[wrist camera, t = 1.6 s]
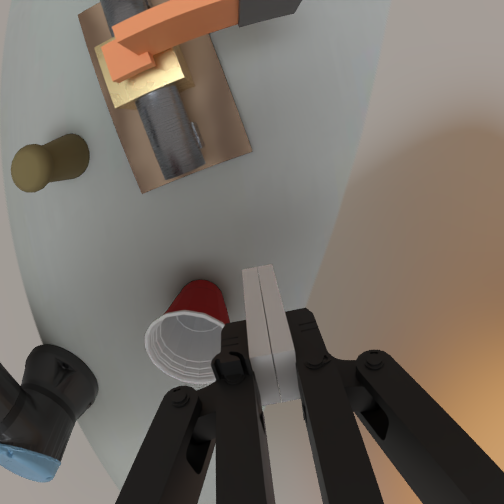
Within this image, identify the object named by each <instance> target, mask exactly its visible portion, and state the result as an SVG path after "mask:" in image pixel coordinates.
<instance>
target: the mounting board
mask: <svg viewBox="0 0 504 504" xmlns="http://www.w3.org/2000/svg"><path fill="white" fill-rule="evenodd" d="M167 1H170V0H151V3H152V5H153V7H155V6H157V5H160V4H162V3H165V2H167ZM78 18H79V21H80V24H81V28H82V31H83V34H84V38H85V41H86V44H87V47H88V51H89V54H90V57H91V60H92V63H93V66H94V69H95V72H96V75H97V78H98V81H99V84H100V87H101V90H102V93H103V95H104V98H105V101H106V104H107V107H108V109H109V112H110V115H111V117H112V120H113V123H114V125H115V128H116V131H117V133H118V136H119V139H120V141H121V144H122V146H123V149H124V151H125V154H126V156H127V159H128V161H129V164H130V166H131V169H132V171H133V174H134V176H135V178H136V181H137V183H138V186H139V188H140V190H141V193H142V194H143V193H145V192H148V191H150V190H153V189H155V188H157V187H160V186H162V185H165V184H167V183H170V182H172V181H174V180H177V179H179V178H182V177H185V176H187V175H190V174H192V173H195V172H197V171H200V170H203V169H205V168H208V167H211V166H213V165H216V164H219V163H221V162H224V161H227V160H230V159H233V158H235V157H238V156H241V155H244V154H247V153H250V152H252V149H251V146H250V143H249V140H248V138H247V135H246V132H245V129H244V127H243V124H242V121H241V118H240V116H239V113H238V110H237V107H236V105H235V102H234V99H233V97H232V94H231V91H230V89H229V86H228V83H227V81H226V78H225V75H224V73H223V70H222V67H221V65H220V62H219V60H218V57H217V54H216V52H215V49H214V47H213V44H212V42H211V39H210V36H209V34H206V35H203V36H200V37H197V38H195V39H192V40H189V41H187V42H184V43H181V44H179V45H180V48H181V50H182V53H183V55H184V58H185V61H186V63H187V66H188V69H189V71H190V74H191V77H192V79H193V82H194V85H195V87H192V88H190V89H187V90H185V91H182V92H180V93H179V94H180V97H181V99H182V102H183V105H184V107H185V110H186V113H187V115H188V118H189V121H190V123H191V122H196V123H197V125H198V128H199V131H200V133H201V136H202V138H203V141H204V144H205V146H204V147H203V148H201V152H202V155H203V157H204V160H205V162H206V163H205V164H204V165H202V166H200V167H198V168H196V169H194V170H192V171H190V172H187V173H185V174H182V175H180V176H177V177H174V178H172V179H168V180H165V179H164V176H163V174H162V172H161V169H160V167H159V164H158V162H157V159H156V157H155V154H154V152H153V149H152V146H151V144H150V141H149V139H148V136H147V134H146V131H145V128H144V126H143V123H142V121H141V118H140V115H139V113H138V110H130V109H115V107H114V104H113V101H112V99H111V96H110V93H109V90H108V87H107V85H106V82H105V79H104V76H103V73H102V70H101V67H100V64H99V61H98V58H97V55H96V52H95V49H94V47H96V46H98V45H100V44H102V43H103V42H105V41H107V40H109V39H111V38H112V37H111V34H110V31H109V28H108V25H107V21H106V18H105V15H104V12H103V9H102V6H101V3H98V4H96V5H94V6H92V7H91V8H89V9H87V10H85V11H84V12H82V13H80V14H78Z"/></svg>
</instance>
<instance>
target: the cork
mask: <svg viewBox="0 0 504 504" xmlns="http://www.w3.org/2000/svg"><path fill="white" fill-rule="evenodd" d="M88 163H89V149H88V145H87V144H86V142H85V141H84V139H83V138H81V137H80V136H79V135H75V134H67V135H64V136H62V137H60V138H57V139H55V140H53V141H51V142H49V143H47V144H44V145H42V146H41V145H38V144H31V145H26V146H25V147H23V148H21V149H20V150H19V151H18V152H17V153H16V155H15V157H14V159H13V161H12V165H11V175H12V178H13V181H14V183H15V185H16V186H17V187H18V188H19V189H21V190H22V191H25V192H37V191H39V190H41V189H43V188H44V187H45V186H46V185H47V184H48V183H49V182H54V181H61V180H67V179H74V178H76V177H79V176H80V175H81V174H82V173H84V171H85V170H86V168H87V166H88Z"/></svg>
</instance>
